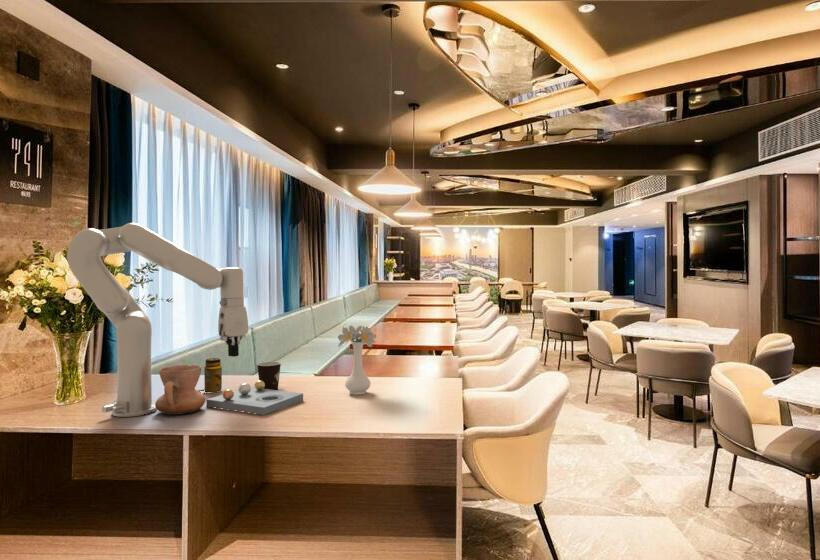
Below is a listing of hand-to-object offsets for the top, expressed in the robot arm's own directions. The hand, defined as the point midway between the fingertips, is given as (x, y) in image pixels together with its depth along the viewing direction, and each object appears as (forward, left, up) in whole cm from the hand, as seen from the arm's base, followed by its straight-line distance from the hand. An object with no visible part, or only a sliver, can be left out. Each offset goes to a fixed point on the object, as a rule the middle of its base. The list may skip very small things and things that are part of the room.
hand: (233, 355), depth 175 cm
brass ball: (+7, -5, -11) cm, 14 cm away
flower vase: (+28, -33, -16) cm, 46 cm away
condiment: (+7, +18, -16) cm, 25 cm away
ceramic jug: (-18, +5, -16) cm, 25 cm away
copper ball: (-8, -5, -11) cm, 15 cm away
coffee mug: (+19, -1, -16) cm, 24 cm away
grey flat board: (0, -10, -16) cm, 19 cm away
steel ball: (0, -5, -11) cm, 12 cm away
